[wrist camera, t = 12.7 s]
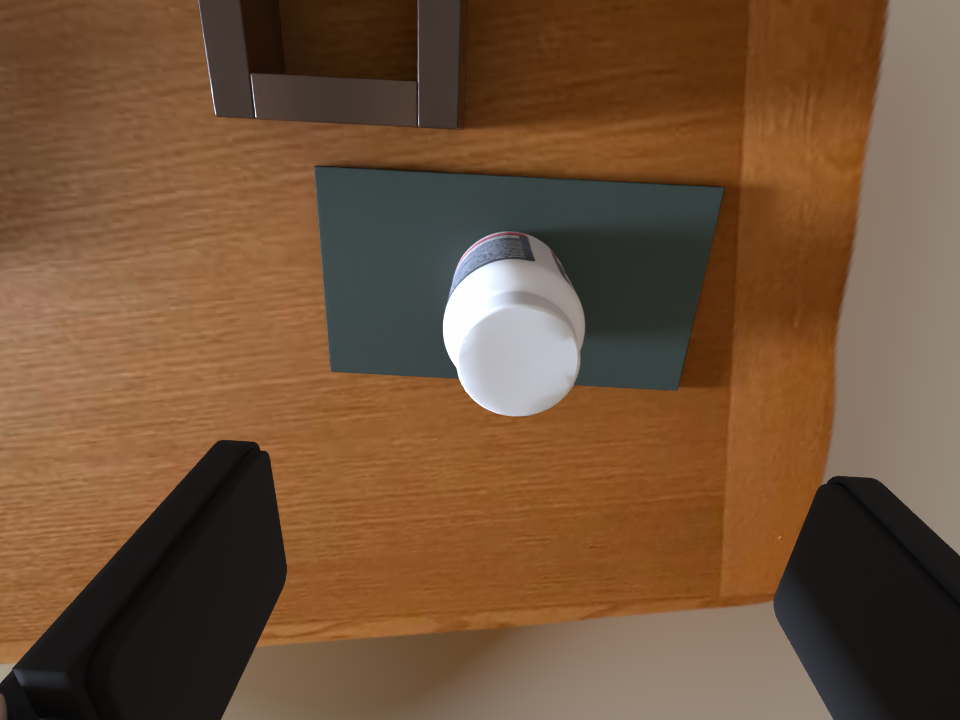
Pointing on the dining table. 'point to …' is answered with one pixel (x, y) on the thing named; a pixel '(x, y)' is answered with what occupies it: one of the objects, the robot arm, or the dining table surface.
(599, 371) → the mat
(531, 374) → the pill bottle
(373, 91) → the holder
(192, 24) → the dining table surface
